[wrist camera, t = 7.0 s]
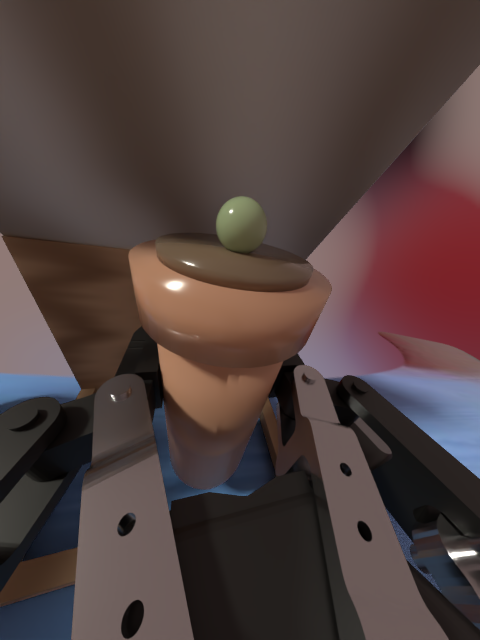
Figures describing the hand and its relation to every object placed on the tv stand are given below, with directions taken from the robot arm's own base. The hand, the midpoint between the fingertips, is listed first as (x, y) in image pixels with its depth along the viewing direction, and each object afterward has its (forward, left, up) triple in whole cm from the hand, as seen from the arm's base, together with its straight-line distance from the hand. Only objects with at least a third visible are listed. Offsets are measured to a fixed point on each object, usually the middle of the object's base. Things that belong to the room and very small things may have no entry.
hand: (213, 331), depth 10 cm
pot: (-1, -2, -7) cm, 8 cm away
